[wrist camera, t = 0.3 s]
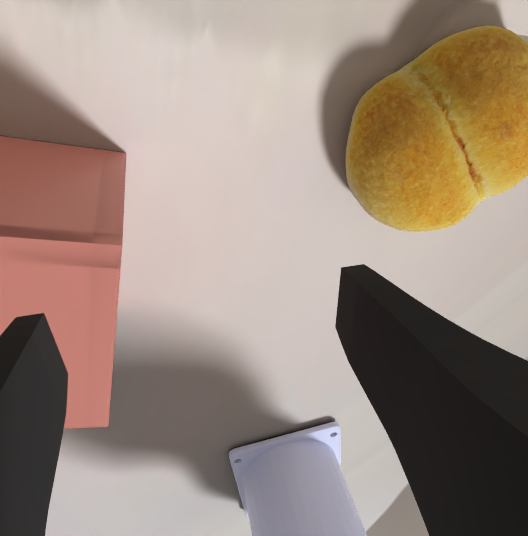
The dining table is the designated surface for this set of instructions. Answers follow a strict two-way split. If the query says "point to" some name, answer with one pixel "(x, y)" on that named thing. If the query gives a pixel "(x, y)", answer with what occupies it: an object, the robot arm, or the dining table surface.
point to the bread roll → (442, 131)
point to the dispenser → (65, 258)
